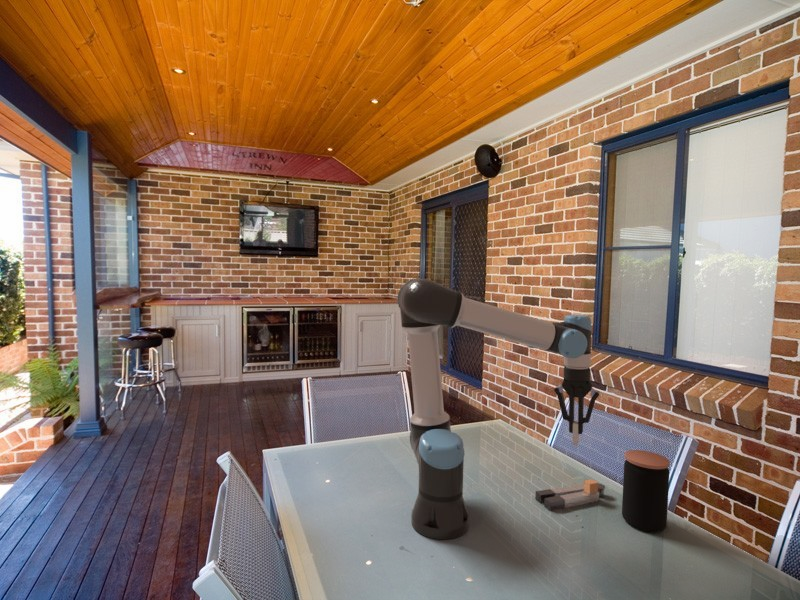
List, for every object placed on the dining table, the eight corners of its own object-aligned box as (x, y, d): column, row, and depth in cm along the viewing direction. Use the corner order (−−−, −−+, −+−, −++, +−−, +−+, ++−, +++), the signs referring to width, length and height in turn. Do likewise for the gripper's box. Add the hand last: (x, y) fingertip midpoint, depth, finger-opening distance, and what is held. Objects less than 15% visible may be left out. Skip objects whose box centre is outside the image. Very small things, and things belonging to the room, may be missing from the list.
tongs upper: (585, 491, 138) (585, 484, 138) (590, 495, 136) (591, 487, 136) (535, 499, 133) (535, 491, 133) (540, 503, 131) (540, 495, 131)
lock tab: (591, 488, 135) (591, 479, 135) (597, 492, 133) (598, 482, 132) (583, 490, 134) (583, 480, 134) (589, 494, 131) (590, 484, 131)
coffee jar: (655, 513, 126) (658, 450, 125) (674, 535, 116) (678, 467, 114) (615, 511, 127) (618, 448, 126) (631, 532, 117) (634, 464, 116)
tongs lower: (598, 491, 139) (598, 482, 138) (609, 498, 134) (610, 488, 134) (539, 503, 131) (540, 493, 131) (550, 511, 127) (550, 501, 126)
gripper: (601, 366, 135) (600, 443, 137) (556, 362, 142) (555, 436, 143) (599, 371, 129) (598, 451, 130) (552, 366, 135) (551, 444, 136)
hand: (575, 443), depth 137 cm, fingers closed
